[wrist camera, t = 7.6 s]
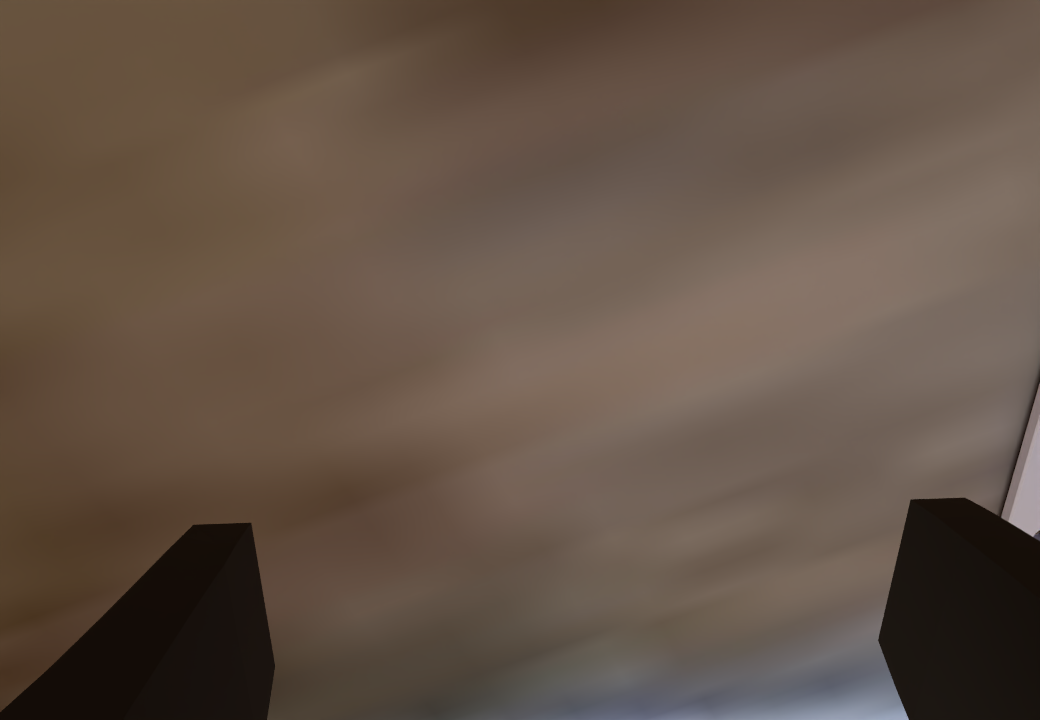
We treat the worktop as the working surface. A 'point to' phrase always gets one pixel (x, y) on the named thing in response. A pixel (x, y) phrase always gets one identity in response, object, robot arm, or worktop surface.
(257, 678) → the robot arm
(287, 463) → the worktop surface
